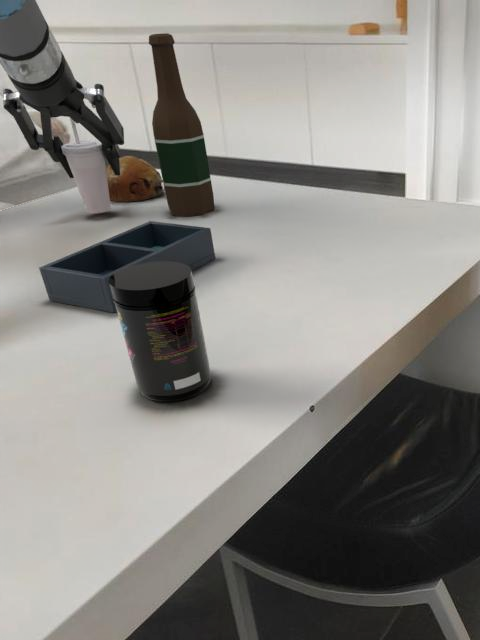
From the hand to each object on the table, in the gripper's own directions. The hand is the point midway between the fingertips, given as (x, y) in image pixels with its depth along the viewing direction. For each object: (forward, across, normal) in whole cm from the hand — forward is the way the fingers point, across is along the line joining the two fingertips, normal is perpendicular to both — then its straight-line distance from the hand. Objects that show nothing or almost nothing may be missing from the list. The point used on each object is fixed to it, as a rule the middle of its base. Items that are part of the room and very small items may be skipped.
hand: (94, 168), depth 110 cm
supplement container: (-42, +19, -50) cm, 68 cm away
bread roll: (+10, +4, +1) cm, 11 cm away
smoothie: (+1, 0, -6) cm, 7 cm away
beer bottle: (+1, +15, -8) cm, 17 cm away
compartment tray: (-21, +11, -29) cm, 37 cm away
